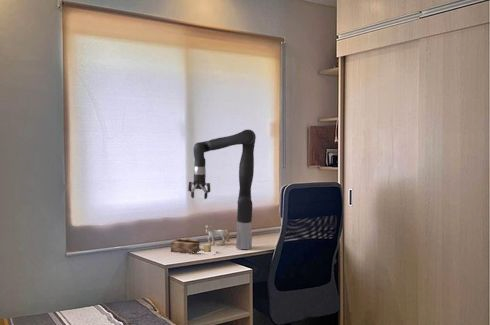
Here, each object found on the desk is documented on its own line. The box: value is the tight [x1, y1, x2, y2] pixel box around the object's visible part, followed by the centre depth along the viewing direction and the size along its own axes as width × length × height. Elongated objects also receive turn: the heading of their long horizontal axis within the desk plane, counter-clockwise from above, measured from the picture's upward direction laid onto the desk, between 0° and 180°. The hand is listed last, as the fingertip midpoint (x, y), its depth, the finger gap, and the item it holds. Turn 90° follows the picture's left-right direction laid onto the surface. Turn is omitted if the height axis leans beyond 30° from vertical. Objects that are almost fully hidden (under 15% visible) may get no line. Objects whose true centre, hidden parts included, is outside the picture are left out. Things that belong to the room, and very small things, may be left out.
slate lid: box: [199, 242, 212, 252], centre depth 303 cm, size 12×8×6 cm
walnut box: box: [170, 237, 201, 254], centre depth 306 cm, size 14×12×6 cm
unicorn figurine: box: [203, 224, 231, 246], centre depth 322 cm, size 7×20×13 cm, turn 119°
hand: (199, 198), depth 319 cm, fingers open, 8 cm apart
